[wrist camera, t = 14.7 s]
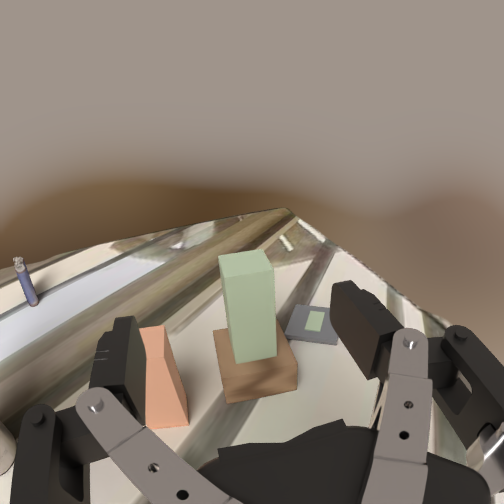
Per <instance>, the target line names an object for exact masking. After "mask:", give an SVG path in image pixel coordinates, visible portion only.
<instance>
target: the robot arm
mask: <svg viewBox="0 0 504 504" xmlns="http://www.w3.org/2000/svg"><path fill="white" fill-rule="evenodd" d="M329 316H330V322H331V325H332V327H333V329H334V330H335V332H336V333H337V335H338V336H339V338H340V339H341V341H342V342H343V344H344V345H345V347H346V348H347V350H348V351H349V353H350V354H351V356H352V357H353V359H354V360H355V362H356V363H357V365H358V367H359V368H360V370H361V371H362V373H363V374H364V376H365V377H366V379H367V380H370V379H373V378H376V377H378V378H379V380H380V382H379V385H378V389H377V394H376V399H375V403H374V408H373V412H372V416H371V420H370V424H369V427H368V428H367V427H360V426H346V425H345V423H344V421H343V419H340V420H337V421H334V422H330V423H327V424H324V425H321V426H317V427H314V428H312V429H310V430H308V431H306V432H304V433H303V434H301V435H299V436H297V437H295V438H293V439H291V440H289V441H287V442H284V443H247V444H242V445H237V446H231V447H225V448H219V449H218V454H219V457H218V458H215V459H213V460H211V461H209V462H207V463H205V464H204V465H202V466H201V467H200V468H198V469H197V470H195V469H193V468H192V467H191V466H190V465H189V464H188V463H186V462H185V461H184V460H183V459H182V458H181V457H179V456H178V455H177V454H176V453H175V452H174V451H173V450H172V449H170V448H169V447H168V446H167V445H166V444H165V443H164V442H163V441H162V440H161V439H160V438H159V437H158V436H157V435H155V434H154V433H153V432H152V431H151V430H150V429H149V428H148V427H146V426H144V425H146V415H145V411H146V362H147V358H146V350H145V346H144V343H143V340H142V337H141V334H140V331H139V328H138V325H137V322H136V319H135V317H134V316H127V317H119V318H115V321H114V326H113V331H109V332H105V333H104V334H103V335H102V337H101V338H100V339H99V341H98V345H97V349H96V354H95V358H94V359H95V361H94V363H93V368H92V373H91V378H90V383H89V389H88V390H86V391H85V392H83V393H82V394H81V395H80V396H79V397H78V399H77V401H76V405H75V406H73V407H70V408H67V409H64V410H61V411H57V412H54V410H53V409H52V408H51V407H50V406H48V405H45V404H38V405H35V406H33V407H31V408H30V409H28V410H27V411H26V413H25V414H24V416H23V419H22V423H21V428H20V433H19V438H18V443H17V449H16V442H15V439H14V437H13V435H12V433H11V432H10V431H9V430H8V429H7V428H6V427H5V425H4V424H3V423H2V422H1V421H0V475H1V474H3V473H5V472H6V471H7V470H8V469H9V467H10V466H11V464H12V463H13V460H14V458H15V462H14V469H13V477H12V485H11V496H10V504H90V463H92V462H95V461H98V460H101V459H104V458H107V457H111V459H112V460H113V461H114V462H115V464H116V465H117V466H118V467H119V468H120V469H121V471H122V472H123V473H124V474H125V475H126V476H127V477H128V479H129V480H130V481H131V482H132V483H133V484H134V485H135V486H136V487H137V488H138V490H139V491H140V492H141V493H142V494H143V495H144V496H145V497H146V498H147V499H148V500H149V501H150V502H151V503H152V504H491V497H492V496H494V495H495V494H497V493H501V492H504V366H503V365H502V364H501V363H500V362H499V361H498V360H497V358H496V357H495V356H494V355H493V354H492V353H491V352H490V351H489V350H488V348H486V346H485V345H484V344H483V343H482V342H481V341H480V340H479V339H478V338H477V337H476V335H475V334H474V333H473V332H472V331H471V330H469V329H468V328H466V327H464V326H460V325H453V326H450V327H448V328H447V329H446V331H445V333H444V336H443V337H434V338H427V337H426V336H425V335H424V334H423V333H422V332H420V331H418V330H416V329H412V328H404V327H403V326H402V325H401V324H400V322H399V321H398V320H397V319H396V318H395V317H394V316H393V315H392V314H391V313H390V311H389V310H388V309H386V307H385V306H384V305H383V304H382V303H381V302H380V301H379V300H378V299H377V297H376V296H375V295H374V294H372V293H370V292H368V291H366V290H364V289H362V290H360V289H359V288H358V287H357V285H356V284H355V283H354V282H353V281H351V280H348V281H343V282H338V283H334V284H333V286H332V292H331V302H330V312H329ZM461 373H462V374H463V376H464V377H465V378H466V379H467V381H468V382H469V383H470V385H471V388H472V394H471V392H470V391H469V390H468V388H467V387H466V386H465V384H464V383H463V382H462V381H461V379H460V378H459V376H460V374H461ZM432 397H433V398H434V400H435V401H436V403H437V404H438V406H439V407H440V409H441V410H442V412H443V414H444V415H445V417H446V418H447V420H448V421H449V423H450V424H451V426H452V427H453V429H454V430H455V432H456V434H457V435H458V437H459V438H460V440H461V442H462V443H463V445H464V446H465V448H466V450H467V453H466V460H467V464H466V466H464V465H462V464H459V463H456V462H453V461H450V460H448V459H445V458H442V457H440V456H437V455H435V454H432V453H429V452H427V448H428V440H429V430H430V419H431V405H432ZM143 426H144V427H143ZM15 454H16V455H15Z"/></svg>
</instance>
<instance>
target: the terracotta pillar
mask: <svg viewBox="0 0 504 504" xmlns="http://www.w3.org/2000/svg"><path fill="white" fill-rule="evenodd" d="M139 331H140V334H141V337H142V340H143V343H144V346H145V350H146V358H147V362H146V411H145V415H146V424H147V426H148V428H149V429H159V428H170V427H179V426H187V425H189V420H188V410H187V399H186V393H185V390H184V387H183V384H182V381H181V378H180V375H179V372H178V369H177V366H176V363H175V359H174V356H173V353H172V350H171V346H170V343H169V340H168V336H167V333H166V329H165V326H164V325H162V326H155V327H147V328H140V329H139Z"/></svg>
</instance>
